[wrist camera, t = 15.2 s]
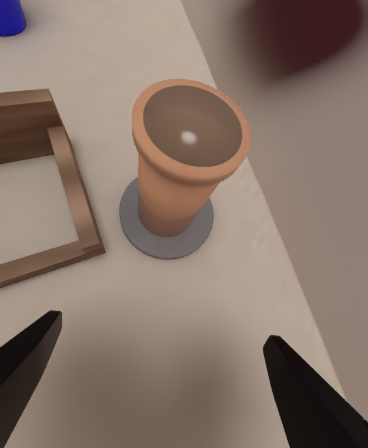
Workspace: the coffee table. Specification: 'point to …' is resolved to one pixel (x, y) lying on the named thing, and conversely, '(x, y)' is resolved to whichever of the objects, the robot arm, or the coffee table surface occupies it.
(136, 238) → the saucer
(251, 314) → the coffee table surface
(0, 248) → the coffee table surface
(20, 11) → the hyacinth
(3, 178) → the coffee table surface
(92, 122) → the coffee table surface
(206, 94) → the pot
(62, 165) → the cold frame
